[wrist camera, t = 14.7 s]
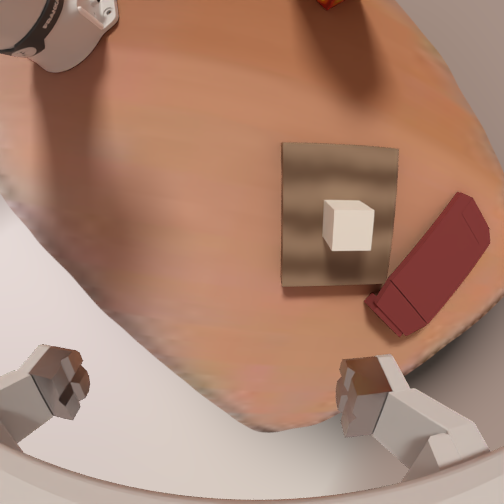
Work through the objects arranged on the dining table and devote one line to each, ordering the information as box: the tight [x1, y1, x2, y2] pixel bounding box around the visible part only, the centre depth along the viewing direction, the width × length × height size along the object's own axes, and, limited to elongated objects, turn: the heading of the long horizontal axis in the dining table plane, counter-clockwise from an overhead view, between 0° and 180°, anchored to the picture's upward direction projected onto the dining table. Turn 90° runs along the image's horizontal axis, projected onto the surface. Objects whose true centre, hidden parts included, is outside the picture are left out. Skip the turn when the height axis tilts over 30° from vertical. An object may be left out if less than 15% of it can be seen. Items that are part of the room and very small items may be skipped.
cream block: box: [322, 200, 375, 251], centre depth 39 cm, size 5×5×6 cm
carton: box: [364, 192, 490, 337], centre depth 46 cm, size 12×5×25 cm
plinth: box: [281, 143, 399, 287], centre depth 43 cm, size 20×16×3 cm
